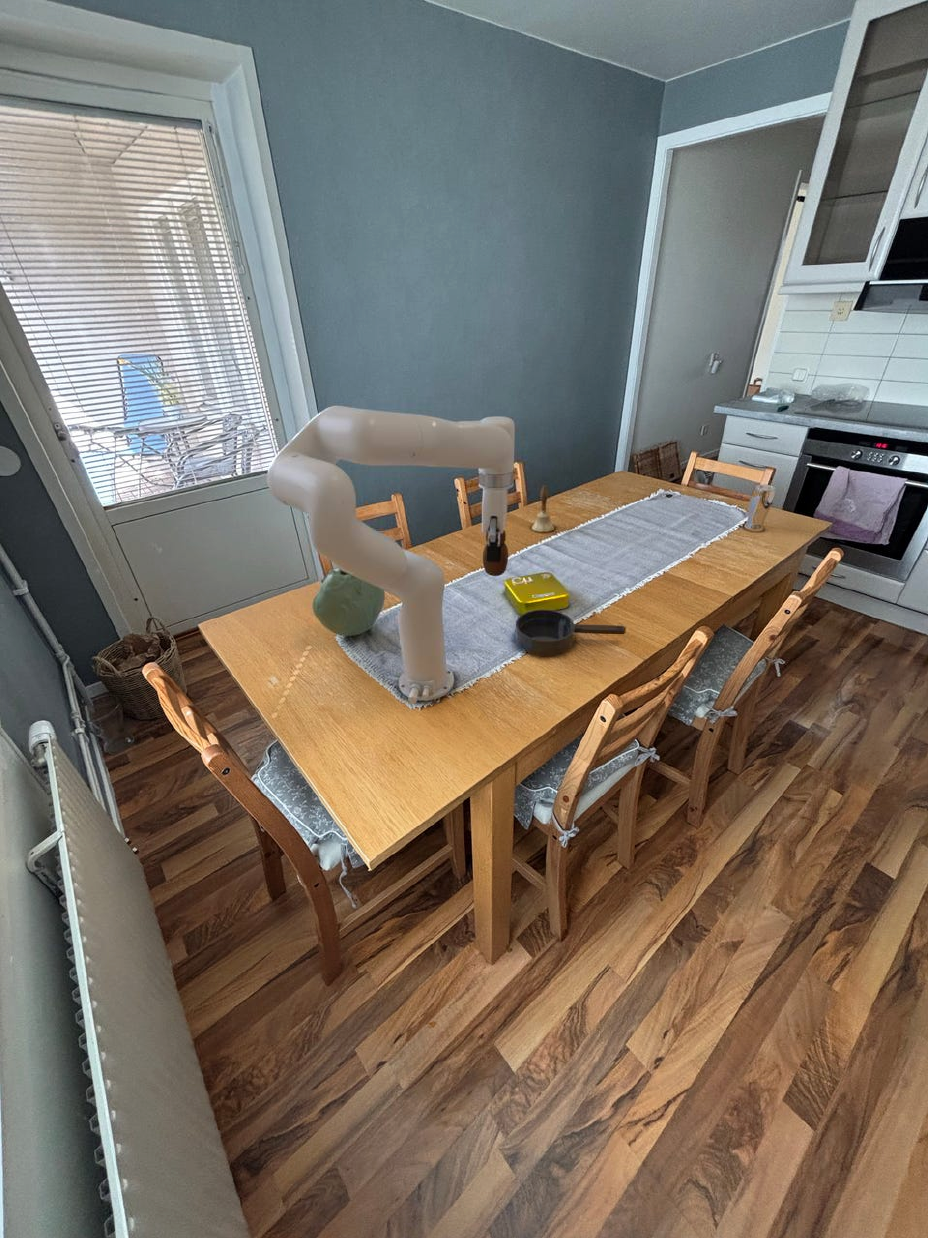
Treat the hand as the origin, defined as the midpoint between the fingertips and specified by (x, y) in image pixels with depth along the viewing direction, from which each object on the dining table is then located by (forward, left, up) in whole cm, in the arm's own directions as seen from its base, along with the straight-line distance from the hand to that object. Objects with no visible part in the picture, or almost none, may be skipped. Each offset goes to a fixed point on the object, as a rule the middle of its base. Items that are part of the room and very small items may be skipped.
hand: (495, 553), depth 118 cm
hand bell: (+72, -13, -24) cm, 77 cm away
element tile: (+19, -10, -23) cm, 32 cm away
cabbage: (0, +38, -24) cm, 44 cm away
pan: (-1, -12, -23) cm, 26 cm away
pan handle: (-1, -26, -20) cm, 33 cm away
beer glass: (+73, -88, -24) cm, 117 cm away
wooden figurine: (0, 0, -5) cm, 5 cm away
